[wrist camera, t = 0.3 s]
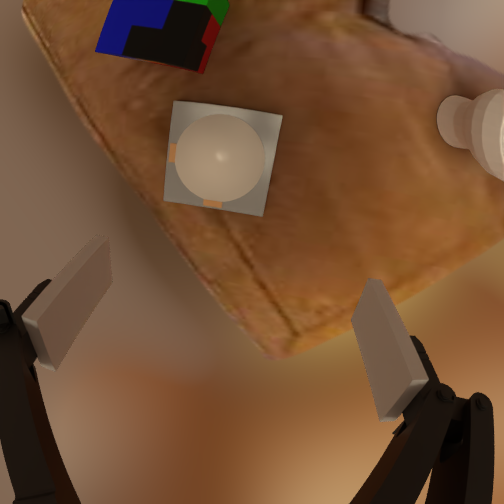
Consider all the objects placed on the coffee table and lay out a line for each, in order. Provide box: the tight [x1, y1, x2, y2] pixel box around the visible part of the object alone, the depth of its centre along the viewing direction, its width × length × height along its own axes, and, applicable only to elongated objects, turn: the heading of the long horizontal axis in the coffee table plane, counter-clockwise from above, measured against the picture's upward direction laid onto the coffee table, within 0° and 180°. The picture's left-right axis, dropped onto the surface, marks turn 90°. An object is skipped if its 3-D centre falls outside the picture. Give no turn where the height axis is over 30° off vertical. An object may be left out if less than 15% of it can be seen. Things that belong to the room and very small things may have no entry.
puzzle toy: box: [95, 0, 229, 74], centre depth 26 cm, size 10×10×10 cm
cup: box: [437, 89, 504, 181], centre depth 27 cm, size 11×11×15 cm
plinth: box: [164, 100, 282, 217], centre depth 37 cm, size 13×13×2 cm
